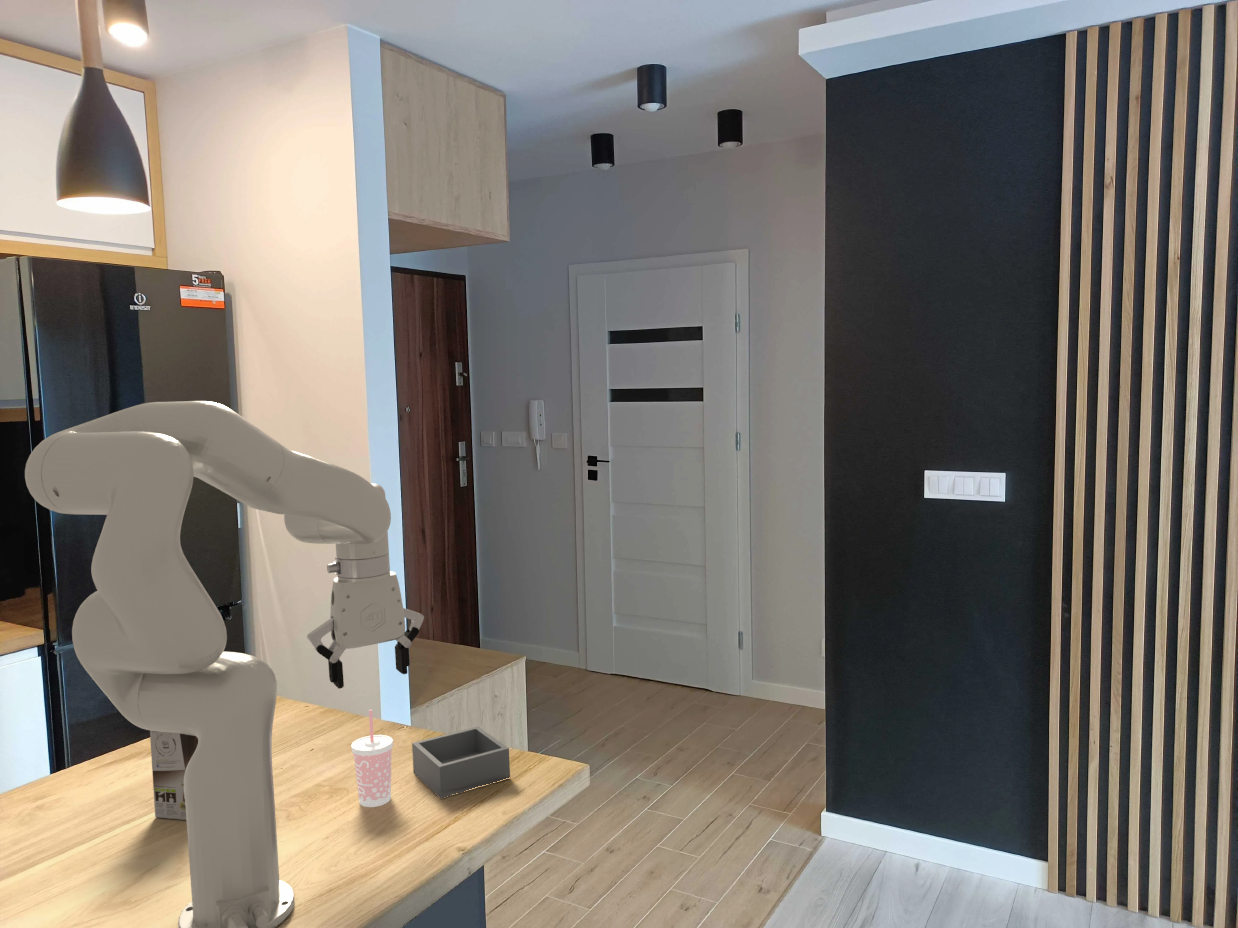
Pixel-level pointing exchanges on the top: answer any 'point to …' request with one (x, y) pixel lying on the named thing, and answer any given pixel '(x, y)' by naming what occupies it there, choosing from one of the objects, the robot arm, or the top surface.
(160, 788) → the coffee box
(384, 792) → the beverage cup
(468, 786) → the crate
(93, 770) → the top surface
